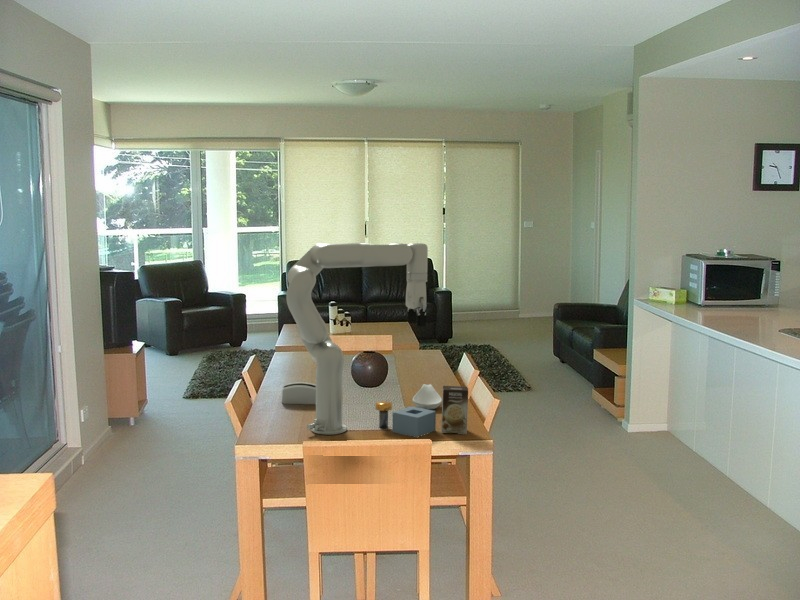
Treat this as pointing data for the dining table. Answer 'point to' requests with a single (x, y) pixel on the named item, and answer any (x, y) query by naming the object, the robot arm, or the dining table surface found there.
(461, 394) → the coffee box
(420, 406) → the spoon rest
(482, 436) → the dining table surface
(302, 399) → the grey slotted block
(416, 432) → the hitch block
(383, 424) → the pin
